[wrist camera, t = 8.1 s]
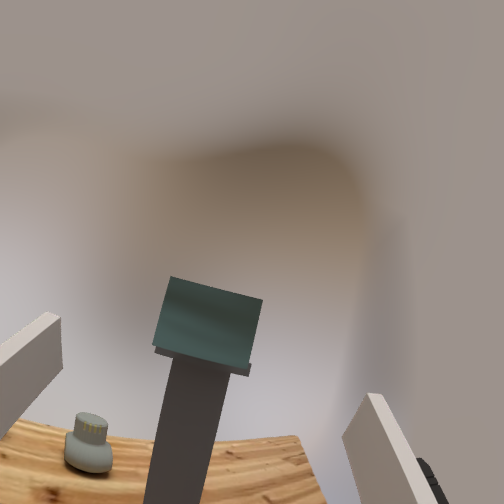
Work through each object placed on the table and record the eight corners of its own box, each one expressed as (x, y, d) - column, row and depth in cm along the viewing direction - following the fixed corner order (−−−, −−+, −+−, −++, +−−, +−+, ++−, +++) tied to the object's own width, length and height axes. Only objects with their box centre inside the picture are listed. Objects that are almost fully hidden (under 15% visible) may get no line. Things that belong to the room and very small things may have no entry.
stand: (213, 615, 12) (287, 371, 21) (90, 585, 11) (122, 329, 20) (209, 542, 27) (255, 361, 36) (122, 520, 27) (158, 336, 35)
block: (247, 369, 12) (262, 299, 13) (152, 345, 12) (170, 276, 13) (222, 353, 37) (228, 330, 38) (190, 345, 37) (196, 322, 38)
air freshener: (64, 447, 42) (70, 403, 45) (104, 457, 45) (111, 414, 49) (64, 473, 33) (69, 423, 36) (111, 483, 36) (119, 435, 39)
